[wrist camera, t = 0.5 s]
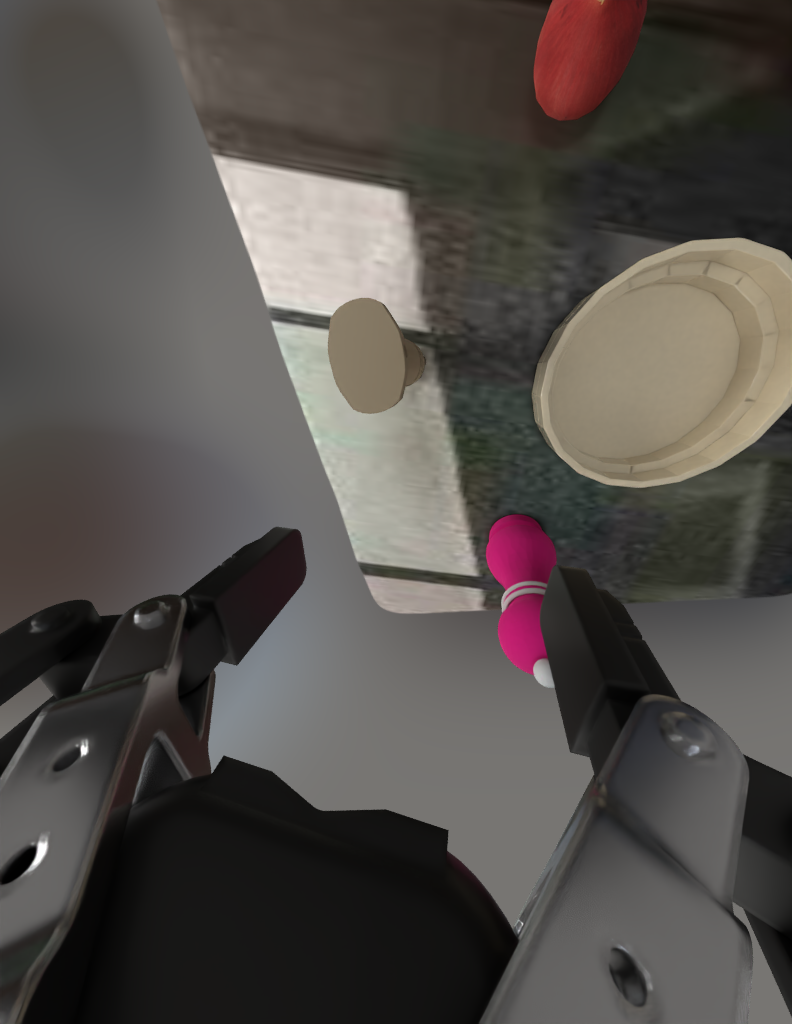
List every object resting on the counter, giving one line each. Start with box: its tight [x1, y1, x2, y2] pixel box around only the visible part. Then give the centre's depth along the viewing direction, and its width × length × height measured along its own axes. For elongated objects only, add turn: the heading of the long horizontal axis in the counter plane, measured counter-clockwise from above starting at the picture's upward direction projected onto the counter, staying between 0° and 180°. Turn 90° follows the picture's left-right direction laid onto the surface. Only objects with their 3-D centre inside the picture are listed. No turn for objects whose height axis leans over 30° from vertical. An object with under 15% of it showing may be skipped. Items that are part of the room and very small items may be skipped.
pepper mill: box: [486, 514, 557, 688], centre depth 28 cm, size 7×7×20 cm
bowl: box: [532, 238, 792, 488], centre depth 26 cm, size 17×17×6 cm
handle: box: [328, 298, 426, 414], centre depth 25 cm, size 5×6×15 cm
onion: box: [534, 0, 647, 121], centre depth 18 cm, size 6×6×8 cm
